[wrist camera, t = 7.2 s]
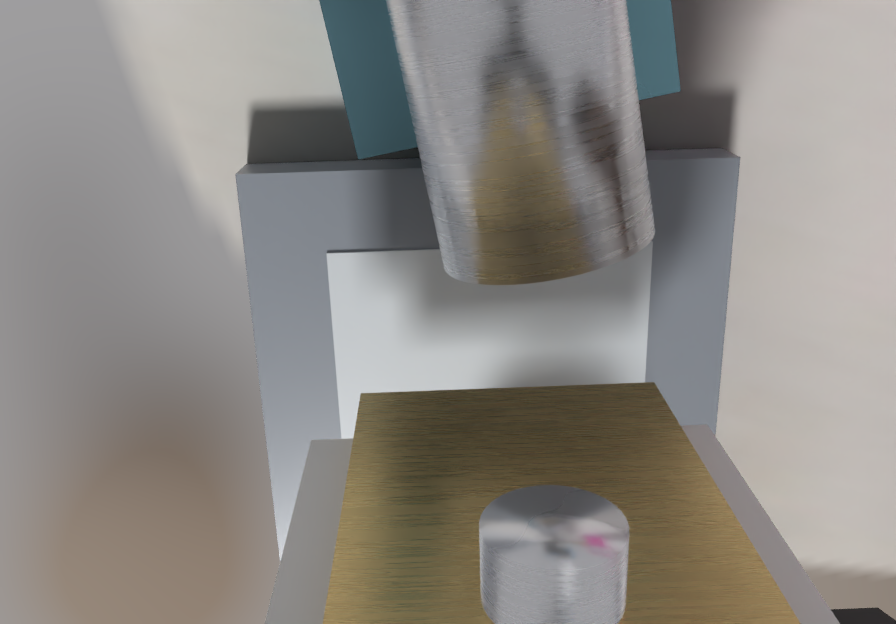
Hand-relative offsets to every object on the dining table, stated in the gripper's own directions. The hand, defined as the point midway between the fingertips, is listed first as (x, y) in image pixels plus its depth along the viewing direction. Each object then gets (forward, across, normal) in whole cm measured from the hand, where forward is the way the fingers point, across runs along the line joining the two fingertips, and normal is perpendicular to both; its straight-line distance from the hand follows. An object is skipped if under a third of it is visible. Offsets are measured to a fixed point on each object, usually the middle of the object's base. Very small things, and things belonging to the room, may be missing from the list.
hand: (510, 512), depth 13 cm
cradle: (+5, 0, 0) cm, 5 cm away
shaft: (+5, 0, +7) cm, 9 cm away
